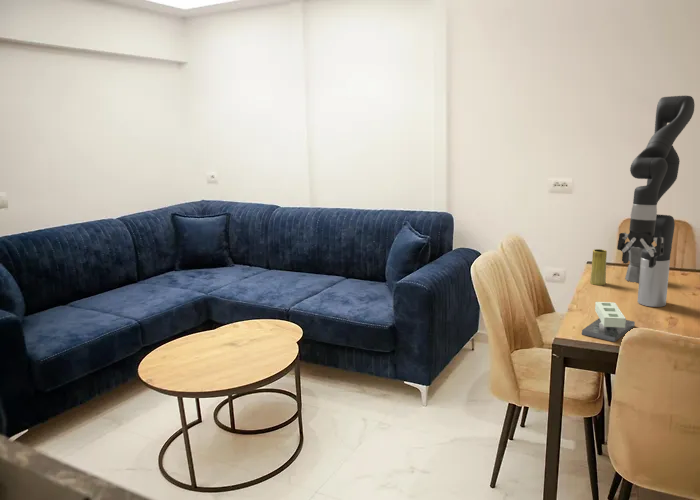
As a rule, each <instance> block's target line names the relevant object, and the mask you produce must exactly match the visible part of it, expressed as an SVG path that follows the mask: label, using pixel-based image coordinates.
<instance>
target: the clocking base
mask: <svg viewBox="0 0 700 500" xmlns="http://www.w3.org/2000/svg"><path fill="white" fill-rule="evenodd" d="M635 325H636V321H633V320H627V319H626V323H625V328H621V327H604V326H603V324H602V322H601V320H600V318H599V317H598V318H597V319H596V320H595V321H593V322H592V323H590V324H589V325H587V326H586V327H585V328H582V329H581V335H583V336H586V337H592V338H596V339H599V340H605V341H607V342H608V341H609V342H614V343H615V342H617V341H618V340H619V339H620V338H622V337H623V336H624V335H625V334H627V333H628V332H629V331H630V330H632V329H633V328H634V327H635ZM627 331H628V332H627Z"/></svg>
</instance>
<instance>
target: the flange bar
mask: <svg viewBox="0 0 700 500" xmlns="http://www.w3.org/2000/svg"><path fill="white" fill-rule="evenodd" d="M594 311H595V313H596V314H597V317H598V319H599V318H600V320H601V322H602V324H603V326H604V327H621V328H625V323H626V320H627V319H626V317H625V315H624V314H623V313H622V311H621V310H620V308H619V306H618V304H617V303H616V302H611V301H595V305H594Z"/></svg>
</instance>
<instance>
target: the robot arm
mask: <svg viewBox="0 0 700 500" xmlns="http://www.w3.org/2000/svg"><path fill="white" fill-rule="evenodd" d="M695 106H696V105H695V100H694V98H693V96H692V95H673V96H662V97H661V98H660V99H659V100H658V102H657V106H656V111H655V120H654V122H655V123H654V133H653V135H652V136H651V137H650V139H649V141H648V143H647V145H646V147H645V148H644V149H643V150H642V151H641V152H640V153H639V154H638V155H637V156H635V158H634V159H633V160H632V162H631V165H630V168H629V171H630V175H631V176H632V177H633V178H635V179H640V180H647V181H646V185H640V186H637V187H635V188H634V191H633V192H634V193H633V198H632V199H633V200H632V201H633V202H632V203H633V204H632V207H631V212H630V219H629V220H630V222H629V228H628V229H629V233H626V232H620V233H619V235H618V240H617V247H616V249H617V250H618V251H621V252H622V256H621V261H622V264H629V262H630V261H629V253H628V252H629V251H630V250H631V249H632V248H633V247H636V248H637V247H639V248H643V250H642V252H641V263H640V276H639V283H638V290H637V304H640V305H643V306H646V307H652V308H653V307H655V308H657V307H658V308H661V307H665V306H666V304H667V296H668V295H667V294H668V286H669V277H670V276H669V275H670V263H671V253H672V247H673V239H674V232H675V224H676V223H675V218H674V217H673V216H672V215H667V214H658V208H657V205H658V203H659V202H660V200H661V198H662V197H663V196H664V195H665V194H666V192H668V190H669V189H670V188H671V187H672V186H673V185H674V183H675V182H676V181H677V179H678V174H679V167H680V157H679V155H678V152H677V150H676V149H675V147H674V146H673V145H674V142H675V141H676V139H677V138H678V137H679V136H680V135H681V133H682V131H683V130H684V129H685V128H686V127H687V125H688V124H689V122H691V119H692V117H693V115H694V112H695ZM627 239H628V240H629V241H628V242H629V243H628V244H627V245H626V247H624V246H625V243H626V240H627ZM654 242H655V244H656V246H655V245H653V243H654ZM644 248H645V249H644Z"/></svg>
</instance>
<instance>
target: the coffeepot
mask: <svg viewBox="0 0 700 500" xmlns="http://www.w3.org/2000/svg"><path fill="white" fill-rule="evenodd" d="M629 242H630V241H625V246H624V247H626V245H627V244H628V243H629ZM644 249H645V248H644ZM642 250H643V248H639V247H637V248H636V247H633V248H632V249H631V250H630V251H629V252H628V253H629V261H628V262H629V263H628V264H629V265H627V269H626V274H625V277H624V279H625V280H626V281H627V282H629V281H630V283H634V282H636V284H639V276H640V263H641V252H642Z"/></svg>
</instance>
